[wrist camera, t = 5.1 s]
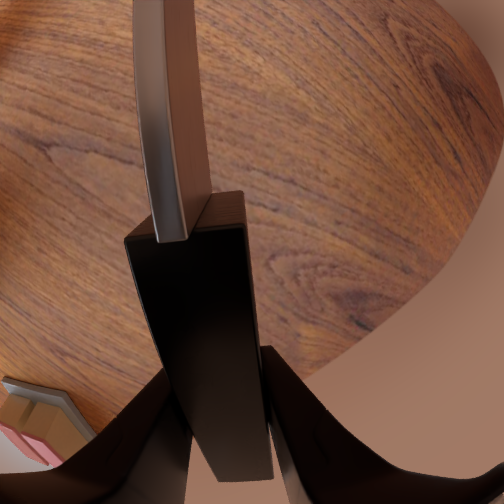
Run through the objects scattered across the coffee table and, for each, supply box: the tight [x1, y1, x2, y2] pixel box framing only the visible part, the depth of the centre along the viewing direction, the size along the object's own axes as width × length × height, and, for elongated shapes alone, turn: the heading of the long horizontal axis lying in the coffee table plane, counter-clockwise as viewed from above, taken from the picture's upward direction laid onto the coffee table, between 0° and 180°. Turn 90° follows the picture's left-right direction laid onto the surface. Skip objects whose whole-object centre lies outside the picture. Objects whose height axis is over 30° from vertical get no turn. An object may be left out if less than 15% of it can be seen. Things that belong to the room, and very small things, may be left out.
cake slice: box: [20, 402, 88, 468], centre depth 22 cm, size 8×4×6 cm, turn 5°
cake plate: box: [0, 377, 97, 466], centre depth 22 cm, size 12×12×7 cm
